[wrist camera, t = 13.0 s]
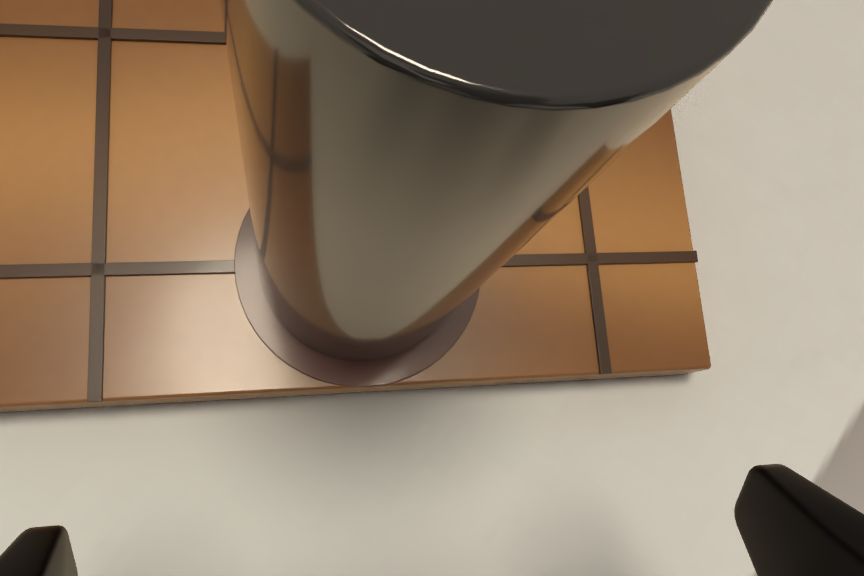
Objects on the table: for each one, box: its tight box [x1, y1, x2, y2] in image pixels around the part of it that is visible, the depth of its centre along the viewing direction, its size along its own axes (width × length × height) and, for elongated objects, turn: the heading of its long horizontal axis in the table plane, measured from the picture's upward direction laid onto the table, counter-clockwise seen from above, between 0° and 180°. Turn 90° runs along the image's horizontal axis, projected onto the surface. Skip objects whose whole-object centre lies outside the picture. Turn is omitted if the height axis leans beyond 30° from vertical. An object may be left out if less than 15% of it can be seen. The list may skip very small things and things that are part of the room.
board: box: [0, 0, 711, 412], centre depth 20 cm, size 18×18×1 cm
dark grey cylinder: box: [220, 0, 773, 362], centre depth 12 cm, size 5×5×13 cm
